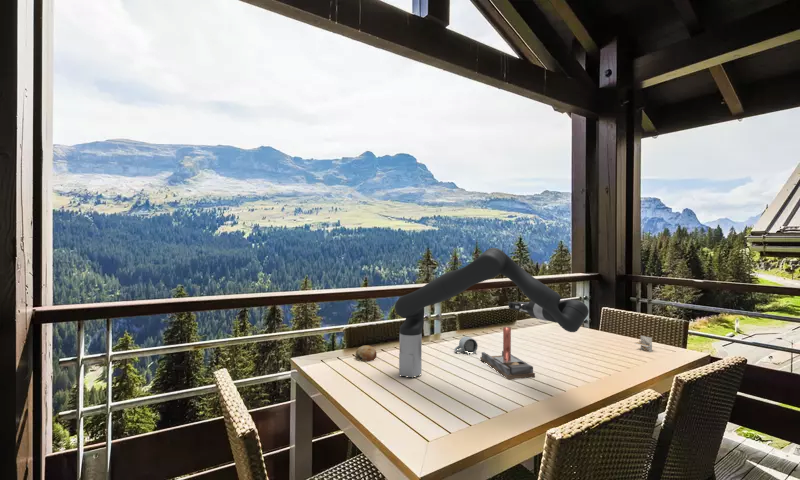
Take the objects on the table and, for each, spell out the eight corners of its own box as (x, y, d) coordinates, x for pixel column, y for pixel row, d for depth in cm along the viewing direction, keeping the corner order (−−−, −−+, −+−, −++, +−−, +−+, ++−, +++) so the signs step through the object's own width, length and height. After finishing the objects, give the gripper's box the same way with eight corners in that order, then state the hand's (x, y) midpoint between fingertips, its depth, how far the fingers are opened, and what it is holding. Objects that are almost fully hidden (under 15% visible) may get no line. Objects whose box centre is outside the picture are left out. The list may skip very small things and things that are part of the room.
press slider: (520, 367, 167) (520, 329, 167) (502, 368, 165) (502, 330, 165) (511, 361, 175) (511, 325, 175) (493, 363, 173) (493, 326, 173)
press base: (534, 377, 160) (534, 364, 160) (508, 379, 157) (508, 366, 157) (503, 358, 185) (503, 347, 185) (480, 360, 182) (480, 349, 182)
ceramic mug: (471, 349, 201) (471, 334, 201) (478, 353, 193) (477, 338, 193) (452, 350, 199) (451, 335, 199) (457, 355, 191) (457, 339, 191)
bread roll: (353, 366, 185) (349, 352, 182) (364, 352, 193) (360, 339, 190) (371, 369, 180) (367, 355, 177) (381, 354, 188) (378, 341, 185)
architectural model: (648, 353, 195) (648, 338, 195) (634, 350, 202) (634, 335, 202) (652, 352, 197) (652, 337, 197) (638, 349, 203) (638, 334, 203)
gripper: (559, 300, 147) (534, 296, 163) (526, 298, 143) (503, 294, 159) (558, 320, 147) (533, 314, 162) (525, 319, 143) (502, 313, 159)
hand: (518, 304), depth 161 cm, fingers open, 8 cm apart
